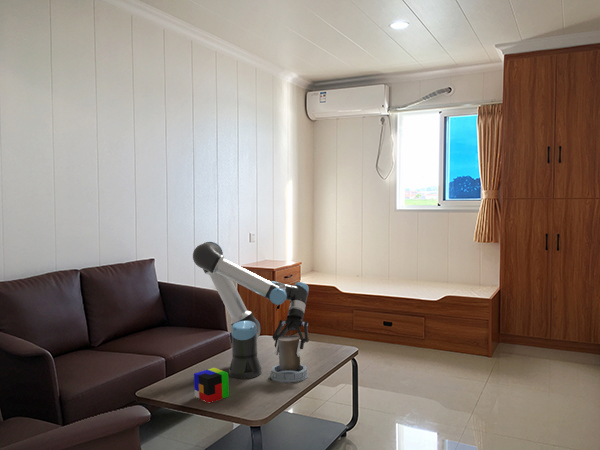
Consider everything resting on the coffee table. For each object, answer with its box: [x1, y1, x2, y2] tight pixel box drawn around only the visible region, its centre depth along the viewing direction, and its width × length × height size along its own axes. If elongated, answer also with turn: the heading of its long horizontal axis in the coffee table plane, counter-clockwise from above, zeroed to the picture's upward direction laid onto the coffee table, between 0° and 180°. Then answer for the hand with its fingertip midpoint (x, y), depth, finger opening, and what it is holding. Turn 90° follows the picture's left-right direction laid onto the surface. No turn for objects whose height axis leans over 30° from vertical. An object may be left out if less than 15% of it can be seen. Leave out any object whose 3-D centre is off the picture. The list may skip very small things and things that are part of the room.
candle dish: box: [269, 363, 309, 384], centre depth 232 cm, size 17×17×4 cm
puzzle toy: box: [193, 367, 230, 403], centre depth 210 cm, size 10×10×10 cm
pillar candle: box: [278, 334, 301, 371], centre depth 232 cm, size 10×10×15 cm
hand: (287, 354), depth 229 cm, fingers closed on pillar candle, 9 cm apart
